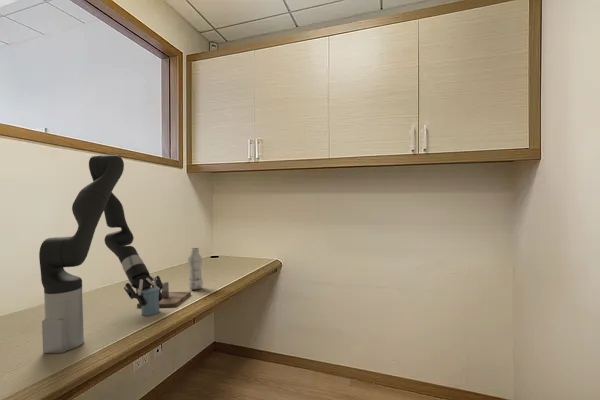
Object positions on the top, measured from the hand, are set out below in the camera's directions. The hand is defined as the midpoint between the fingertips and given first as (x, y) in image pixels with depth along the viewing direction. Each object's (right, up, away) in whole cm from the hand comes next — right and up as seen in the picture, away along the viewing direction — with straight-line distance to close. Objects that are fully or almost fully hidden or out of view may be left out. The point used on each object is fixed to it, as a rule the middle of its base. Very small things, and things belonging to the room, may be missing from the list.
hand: (152, 302), depth 119 cm
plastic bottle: (+6, -4, +32) cm, 33 cm away
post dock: (-2, -4, +15) cm, 16 cm away
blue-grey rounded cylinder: (-1, -4, +1) cm, 5 cm away
